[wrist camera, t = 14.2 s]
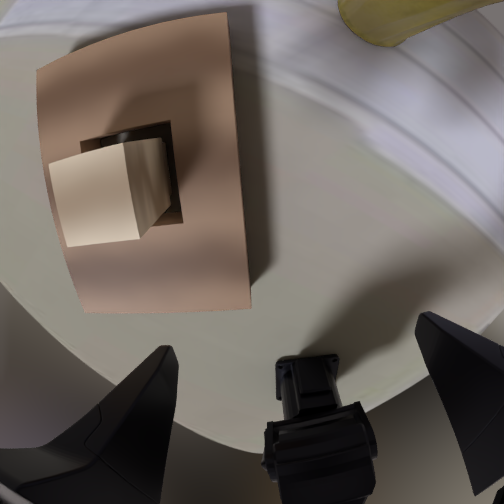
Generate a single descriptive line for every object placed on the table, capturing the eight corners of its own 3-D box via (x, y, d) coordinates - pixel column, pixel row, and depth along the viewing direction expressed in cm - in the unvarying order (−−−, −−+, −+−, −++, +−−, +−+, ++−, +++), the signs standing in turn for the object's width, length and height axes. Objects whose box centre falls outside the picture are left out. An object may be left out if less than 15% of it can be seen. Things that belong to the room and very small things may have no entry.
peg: (177, 197, 20) (139, 238, 12) (122, 205, 20) (67, 247, 12) (169, 136, 18) (122, 142, 10) (113, 148, 18) (48, 164, 11)
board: (250, 286, 23) (251, 308, 20) (98, 294, 23) (85, 312, 20) (229, 27, 15) (226, 12, 12) (58, 73, 15) (36, 70, 12)
